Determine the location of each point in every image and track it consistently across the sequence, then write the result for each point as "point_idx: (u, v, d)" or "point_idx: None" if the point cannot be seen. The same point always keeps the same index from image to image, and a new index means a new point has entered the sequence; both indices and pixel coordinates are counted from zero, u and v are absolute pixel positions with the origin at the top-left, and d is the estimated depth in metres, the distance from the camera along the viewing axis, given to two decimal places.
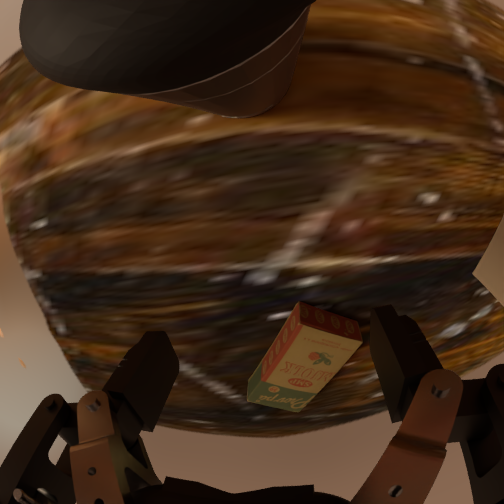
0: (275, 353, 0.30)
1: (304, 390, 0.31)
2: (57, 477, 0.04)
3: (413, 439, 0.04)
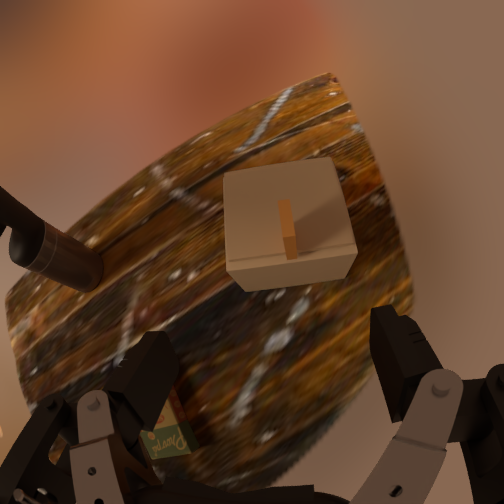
0: None
1: (166, 425, 0.34)
2: (57, 477, 0.04)
3: (413, 439, 0.04)
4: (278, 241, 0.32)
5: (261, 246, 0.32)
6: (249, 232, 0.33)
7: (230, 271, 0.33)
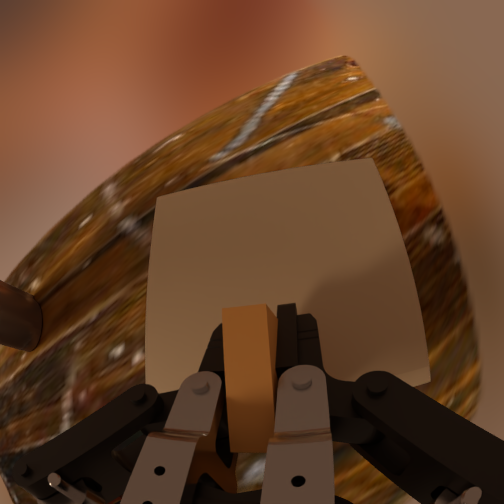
0: None
1: None
2: (113, 471, 0.05)
3: (293, 433, 0.05)
4: None
5: None
6: (189, 338, 0.14)
7: None
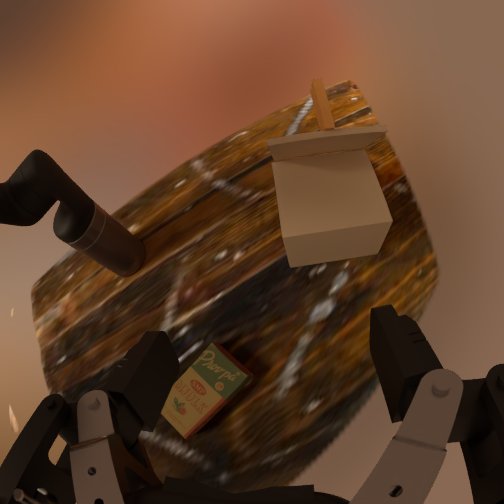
0: (210, 416, 0.37)
1: (198, 375, 0.40)
2: (57, 477, 0.04)
3: (413, 439, 0.04)
4: None
5: None
6: None
7: (285, 238, 0.37)
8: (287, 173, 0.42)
